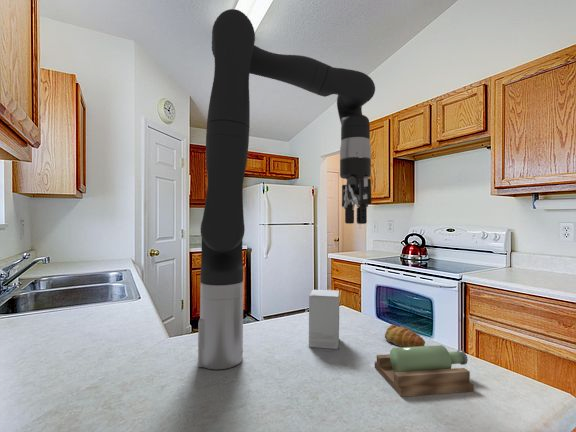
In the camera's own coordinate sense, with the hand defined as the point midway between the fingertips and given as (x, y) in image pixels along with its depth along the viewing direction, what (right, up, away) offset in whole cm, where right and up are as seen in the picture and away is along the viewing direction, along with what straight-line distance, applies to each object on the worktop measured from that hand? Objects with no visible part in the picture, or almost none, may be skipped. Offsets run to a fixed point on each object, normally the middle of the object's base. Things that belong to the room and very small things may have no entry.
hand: (355, 223), depth 77 cm
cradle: (+9, -30, -17) cm, 35 cm away
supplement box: (-7, -30, +1) cm, 31 cm away
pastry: (+13, -31, +2) cm, 33 cm away
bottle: (+11, -29, -16) cm, 35 cm away
